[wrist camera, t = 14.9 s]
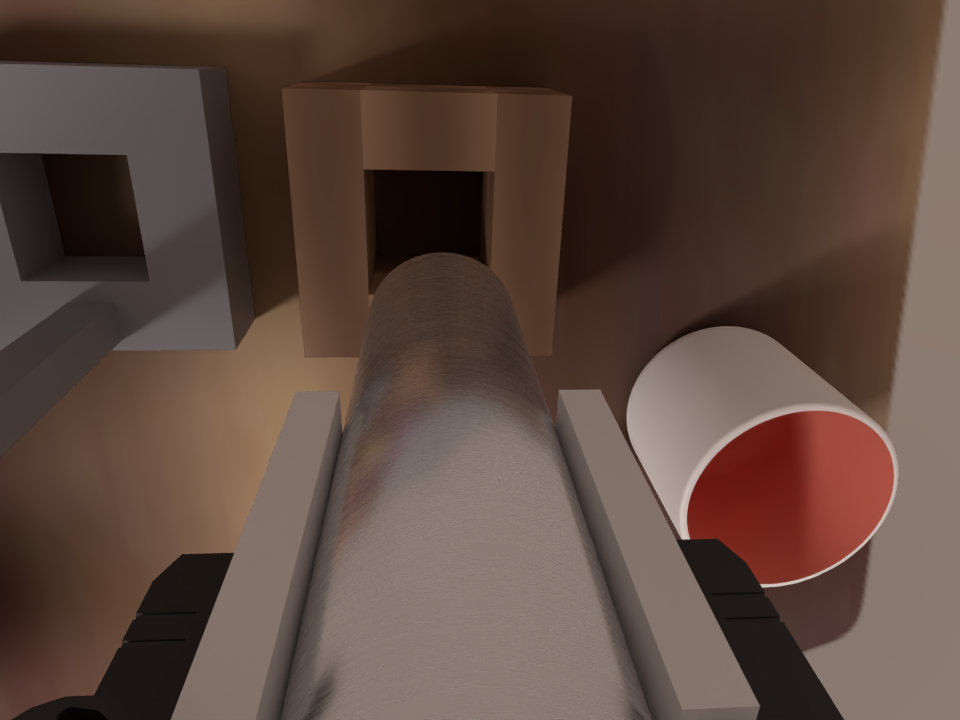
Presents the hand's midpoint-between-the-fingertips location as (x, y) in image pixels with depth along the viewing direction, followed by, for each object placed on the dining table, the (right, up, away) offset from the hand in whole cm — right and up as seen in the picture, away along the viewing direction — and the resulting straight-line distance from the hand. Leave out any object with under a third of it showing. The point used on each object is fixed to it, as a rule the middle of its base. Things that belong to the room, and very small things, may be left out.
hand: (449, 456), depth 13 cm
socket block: (-17, +9, +20) cm, 28 cm away
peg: (0, +3, +6) cm, 7 cm away
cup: (+14, 0, +27) cm, 30 cm away
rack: (-2, +9, +21) cm, 23 cm away
